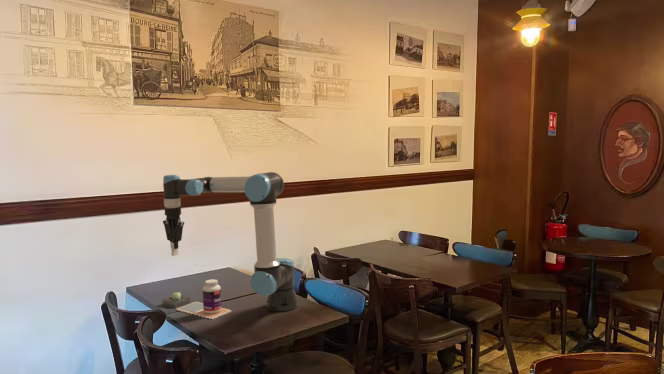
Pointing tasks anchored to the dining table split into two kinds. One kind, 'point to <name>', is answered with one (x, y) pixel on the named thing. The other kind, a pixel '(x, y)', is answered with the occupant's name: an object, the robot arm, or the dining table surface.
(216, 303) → the pill bottle
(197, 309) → the board
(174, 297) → the button
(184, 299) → the button housing
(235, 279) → the dining table surface
